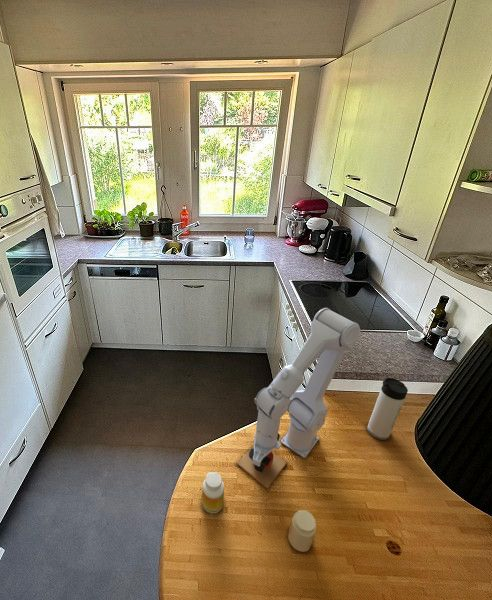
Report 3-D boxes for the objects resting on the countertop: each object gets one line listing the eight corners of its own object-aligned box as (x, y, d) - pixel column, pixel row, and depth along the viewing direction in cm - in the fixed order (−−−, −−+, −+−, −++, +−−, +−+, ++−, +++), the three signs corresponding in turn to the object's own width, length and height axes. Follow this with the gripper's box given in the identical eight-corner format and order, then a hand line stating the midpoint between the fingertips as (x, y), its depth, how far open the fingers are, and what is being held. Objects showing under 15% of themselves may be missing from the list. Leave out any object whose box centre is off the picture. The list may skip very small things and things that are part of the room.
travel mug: (363, 422, 105) (379, 375, 96) (384, 424, 104) (403, 377, 95) (369, 438, 100) (388, 390, 90) (392, 441, 99) (413, 392, 89)
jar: (294, 521, 79) (299, 503, 75) (315, 538, 75) (321, 519, 72) (284, 539, 75) (288, 520, 72) (304, 557, 72) (311, 538, 68)
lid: (247, 455, 92) (248, 451, 91) (263, 446, 95) (263, 442, 94) (261, 472, 88) (261, 467, 87) (277, 462, 90) (277, 458, 89)
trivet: (257, 442, 98) (257, 441, 98) (286, 463, 92) (286, 462, 92) (237, 464, 92) (237, 463, 92) (267, 488, 86) (267, 487, 86)
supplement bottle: (221, 516, 80) (223, 492, 75) (200, 511, 81) (200, 487, 76) (224, 494, 84) (226, 471, 80) (203, 490, 85) (204, 467, 81)
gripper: (273, 456, 78) (267, 489, 84) (290, 415, 89) (283, 447, 95) (246, 443, 81) (242, 477, 87) (265, 405, 92) (260, 437, 98)
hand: (262, 461), depth 92 cm, fingers closed on lid, 5 cm apart
